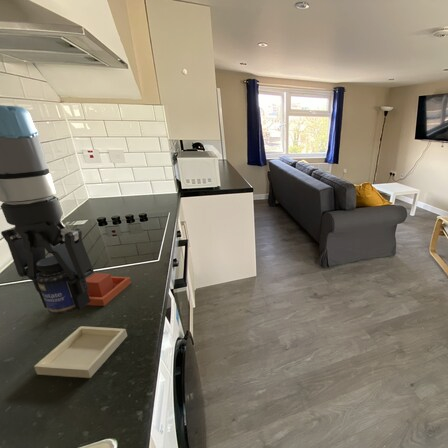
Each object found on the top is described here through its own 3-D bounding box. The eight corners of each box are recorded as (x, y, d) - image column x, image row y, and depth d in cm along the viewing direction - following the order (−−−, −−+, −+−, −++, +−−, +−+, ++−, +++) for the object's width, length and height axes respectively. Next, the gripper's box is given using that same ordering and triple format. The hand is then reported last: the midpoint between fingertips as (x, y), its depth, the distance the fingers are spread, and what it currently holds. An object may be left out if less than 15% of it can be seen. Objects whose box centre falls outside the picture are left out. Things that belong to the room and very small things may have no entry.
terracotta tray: (66, 303, 76) (63, 297, 75) (97, 281, 87) (95, 275, 86) (104, 306, 75) (102, 299, 75) (130, 283, 86) (129, 277, 85)
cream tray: (37, 374, 55) (33, 366, 54) (82, 333, 66) (80, 326, 65) (90, 378, 54) (87, 370, 53) (127, 336, 65) (125, 328, 64)
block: (86, 296, 79) (81, 281, 77) (99, 286, 83) (95, 272, 81) (102, 296, 78) (98, 282, 77) (114, 287, 83) (110, 273, 81)
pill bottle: (40, 315, 52) (20, 267, 48) (65, 297, 58) (49, 252, 54) (72, 315, 53) (55, 267, 49) (93, 296, 58) (79, 252, 54)
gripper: (97, 195, 50) (123, 295, 58) (2, 192, 51) (42, 291, 59) (61, 206, 43) (98, 319, 51) (-47, 203, 44) (5, 314, 52)
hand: (68, 304), depth 55 cm, fingers closed on pill bottle, 6 cm apart
